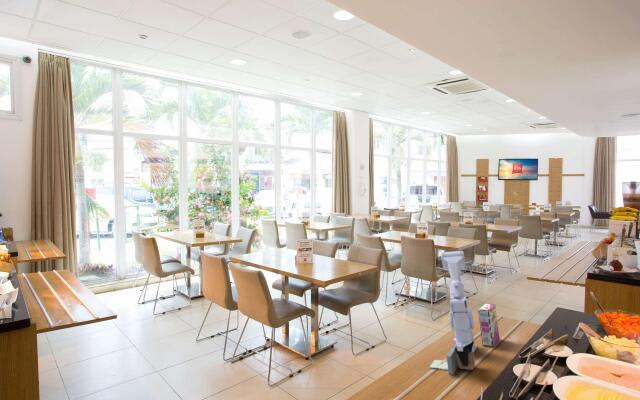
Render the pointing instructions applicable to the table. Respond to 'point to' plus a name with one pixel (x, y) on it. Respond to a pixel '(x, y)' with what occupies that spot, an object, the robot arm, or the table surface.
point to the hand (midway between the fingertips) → (466, 363)
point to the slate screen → (452, 360)
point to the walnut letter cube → (470, 362)
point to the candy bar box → (488, 324)
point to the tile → (442, 366)
